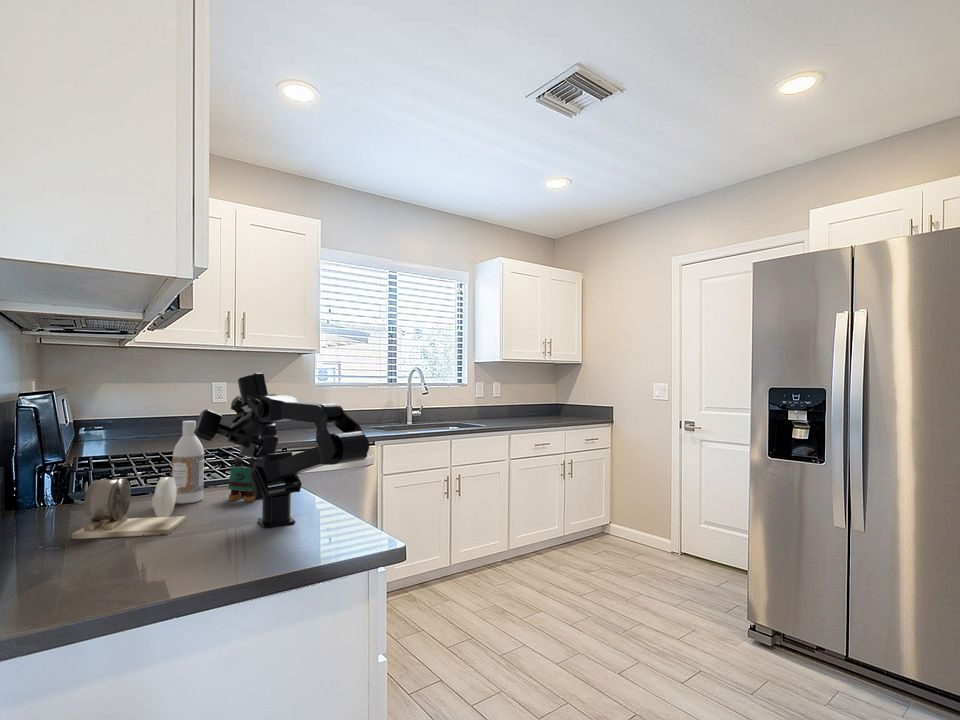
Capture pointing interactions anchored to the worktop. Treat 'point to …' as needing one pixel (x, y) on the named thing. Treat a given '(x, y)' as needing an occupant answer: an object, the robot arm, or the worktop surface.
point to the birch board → (129, 527)
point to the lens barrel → (107, 500)
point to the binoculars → (241, 480)
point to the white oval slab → (164, 497)
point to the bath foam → (188, 466)
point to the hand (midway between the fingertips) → (222, 447)
